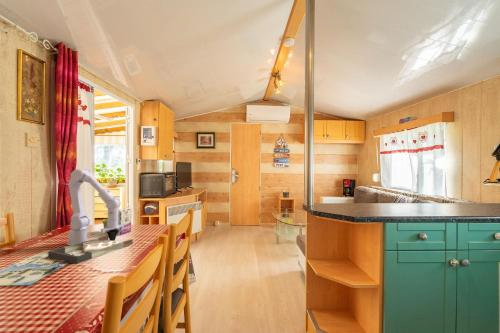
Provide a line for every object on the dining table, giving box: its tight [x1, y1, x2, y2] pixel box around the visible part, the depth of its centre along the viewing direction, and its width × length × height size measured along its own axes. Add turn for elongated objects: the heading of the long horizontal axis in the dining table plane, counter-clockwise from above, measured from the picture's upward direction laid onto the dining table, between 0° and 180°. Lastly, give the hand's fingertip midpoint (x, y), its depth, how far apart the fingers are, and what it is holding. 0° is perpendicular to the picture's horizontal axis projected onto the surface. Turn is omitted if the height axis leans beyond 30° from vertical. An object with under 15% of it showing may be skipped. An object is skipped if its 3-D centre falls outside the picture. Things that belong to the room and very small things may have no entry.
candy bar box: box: [117, 208, 132, 236], centre depth 182 cm, size 11×5×16 cm, turn 168°
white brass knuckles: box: [82, 240, 120, 254], centre depth 148 cm, size 3×18×15 cm
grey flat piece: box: [64, 234, 134, 259], centre depth 148 cm, size 20×27×3 cm
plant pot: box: [102, 218, 108, 234], centre depth 184 cm, size 9×9×9 cm
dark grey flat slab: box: [47, 246, 93, 264], centre depth 132 cm, size 20×8×3 cm, turn 70°
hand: (112, 242), depth 156 cm, fingers closed
